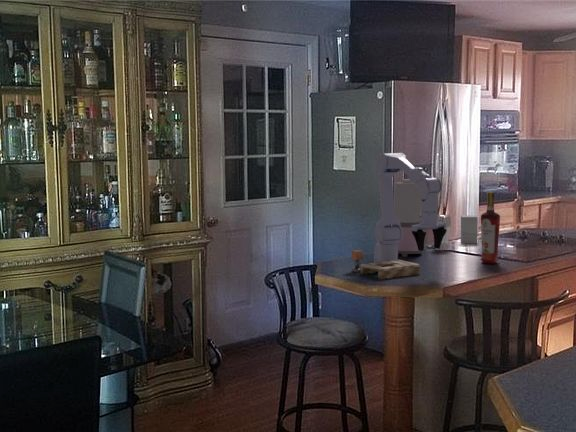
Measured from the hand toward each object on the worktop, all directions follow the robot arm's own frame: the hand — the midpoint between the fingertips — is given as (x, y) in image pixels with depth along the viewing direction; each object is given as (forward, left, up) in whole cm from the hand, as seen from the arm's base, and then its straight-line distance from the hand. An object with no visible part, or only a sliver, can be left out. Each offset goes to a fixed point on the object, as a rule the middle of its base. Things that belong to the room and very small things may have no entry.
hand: (429, 249), depth 253 cm
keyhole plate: (-12, -9, -10) cm, 17 cm away
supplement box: (-52, +68, -10) cm, 86 cm away
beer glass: (-43, +45, -10) cm, 63 cm away
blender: (-42, +25, -10) cm, 50 cm away
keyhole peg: (-23, -16, -10) cm, 29 cm away
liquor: (-8, +37, -10) cm, 40 cm away
